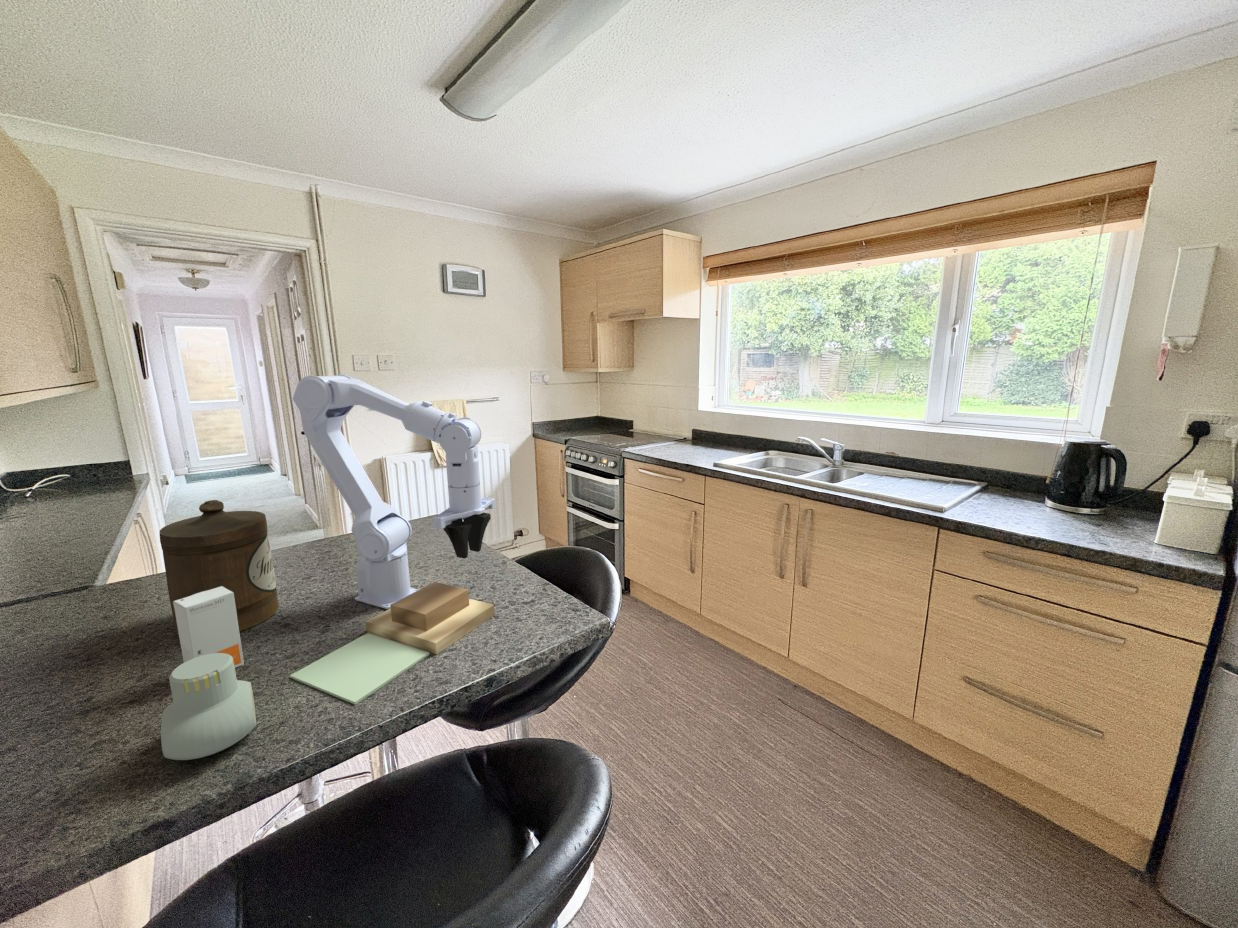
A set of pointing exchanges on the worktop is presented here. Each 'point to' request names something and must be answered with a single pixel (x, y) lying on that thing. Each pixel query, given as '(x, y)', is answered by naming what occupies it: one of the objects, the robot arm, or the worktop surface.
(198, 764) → the worktop surface
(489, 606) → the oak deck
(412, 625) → the walnut tile
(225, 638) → the skincare box
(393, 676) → the sage mat
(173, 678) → the air freshener
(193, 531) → the wooden container
